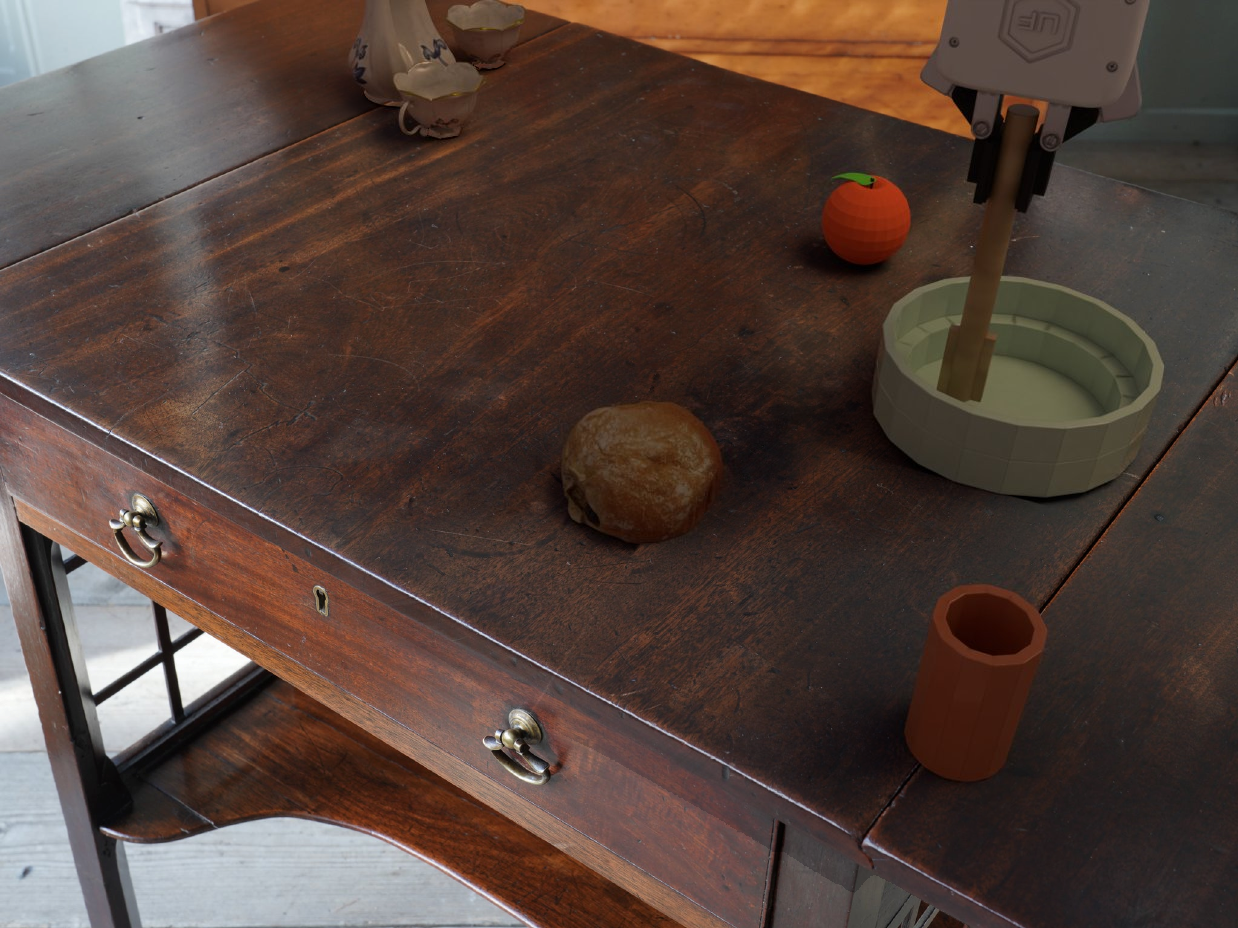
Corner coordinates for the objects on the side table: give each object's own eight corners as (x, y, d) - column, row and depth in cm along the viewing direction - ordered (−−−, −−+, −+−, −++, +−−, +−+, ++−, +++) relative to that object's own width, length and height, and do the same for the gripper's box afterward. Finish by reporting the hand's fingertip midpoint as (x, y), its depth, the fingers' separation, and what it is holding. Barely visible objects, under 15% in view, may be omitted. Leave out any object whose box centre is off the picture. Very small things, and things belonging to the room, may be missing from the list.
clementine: (789, 255, 99) (798, 175, 94) (837, 225, 103) (848, 146, 98) (873, 290, 95) (886, 208, 90) (919, 257, 99) (934, 176, 94)
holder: (1013, 726, 62) (1054, 603, 56) (994, 802, 59) (1036, 679, 53) (916, 694, 64) (947, 571, 58) (892, 767, 60) (922, 643, 54)
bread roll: (551, 523, 79) (507, 461, 73) (646, 406, 82) (612, 336, 75) (667, 597, 74) (631, 538, 67) (765, 469, 76) (739, 401, 70)
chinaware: (488, 172, 114) (497, -9, 103) (311, 147, 113) (301, -36, 103) (528, 59, 135) (538, -100, 125) (379, 38, 135) (376, -122, 124)
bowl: (1149, 382, 86) (1175, 309, 82) (1119, 535, 73) (1148, 457, 70) (905, 325, 91) (919, 254, 87) (840, 458, 79) (851, 383, 75)
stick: (984, 392, 82) (1053, 108, 69) (978, 407, 81) (1048, 120, 68) (939, 382, 83) (1000, 99, 70) (933, 396, 82) (994, 111, 69)
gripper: (905, -136, 61) (857, 199, 73) (1244, -98, 56) (1134, 255, 68) (939, -168, 66) (889, 150, 78) (1251, -136, 61) (1148, 198, 73)
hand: (1004, 196), depth 73 cm, fingers closed on stick, 1 cm apart
